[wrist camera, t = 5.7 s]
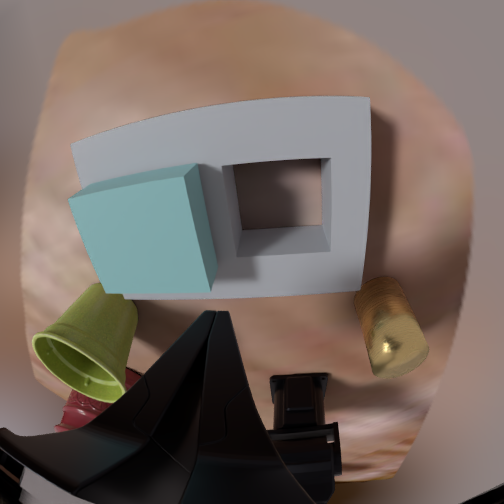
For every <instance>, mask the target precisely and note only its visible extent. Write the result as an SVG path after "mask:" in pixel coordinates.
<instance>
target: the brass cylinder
mask: <svg viewBox="0 0 504 504" xmlns="http://www.w3.org/2000/svg"><path fill="white" fill-rule="evenodd" d="M354 305H355V308H356V311H357V315H358V318H359V322H360V325H361V329H362V333H363V336H364V340H365V344H366V348H367V351H368V355H369V359H370V363H371V368H372V372H373V374H374V375H375V376H377V377H379V378H386V379H387V378H395V377H399V376H402V375H404V374H407V373H409V372H411V371H412V370H414V369H415V368H417V367H418V366H419V365H420V364H421V363H422V362H423V361H424V360H425V359H426V357H427V355H428V353H429V347H428V344H427V342H426V340H425V337H424V335H423V333H422V331H421V328H420V326H419V324H418V322H417V320H416V317H415V315H414V313H413V311H412V309H411V307H410V305H409V303H408V301H407V299H406V297H405V295H404V293H403V291H402V289H401V287H400V285H399V283H398V282H397V281H396V280H395V279H393V278H390V277H378V278H375V279H372V280H370V281H368V282H366V283H365V284H364V285H363V286H362V287H361V289H360V291H357V293H356V295H355V299H354Z"/></svg>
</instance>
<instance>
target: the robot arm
mask: <svg viewBox="0 0 504 504" xmlns="http://www.w3.org/2000/svg"><path fill="white" fill-rule="evenodd" d="M327 380H328V375H327V374H325V373H322V374H309V375H292V376H272V377H270V388H271V395H272V402H273V404H274V425H273V430H266V428H265V426H264V424H263V422H262V420H261V418H260V416H259V413H258V411H257V409H256V406H255V403H254V400H253V397H252V394H251V390H250V387H249V384H248V380H247V377H246V373H245V369H244V366H243V362H242V358H241V355H240V351H239V347H238V343H237V340H236V336H235V332H234V328H233V324H232V321H231V317H230V313H229V311H218V312H216V311H211V310H206V311H204V312H203V313H202V314H201V315H200V316H199V317H198V318H197V319H196V320H195V321H194V322H193V323H192V324H191V326H190V327H189V328H188V329H187V330H186V331H185V332H184V333H183V334H182V335H181V336H180V337H179V338H178V339H177V340H176V341H175V342H174V343H173V344H172V345H171V346H170V348H169V349H168V350H167V351H166V352H165V353H164V354H163V355H162V356H161V357H160V358H159V359H158V360H157V361H156V362H155V363H154V364H153V365H152V366H151V367H150V368H149V369H148V370H147V372H146V373H145V374H144V376H142V377H141V378H140V379H139V380H138V381H137V382H136V383H135V384H134V385H133V386H132V387H131V388H130V389H129V390H128V391H127V392H126V393H124V394H123V395H122V396H121V397H120V398H119V399H117V400H116V401H115V402H114V403H113V404H111V405H110V406H109V407H108V408H107V409H105V410H104V411H103V412H102V413H100V414H99V415H98V416H97V417H95V418H94V419H93V420H92V421H90V422H89V423H87V424H86V425H84V426H82V427H80V428H77V429H73V430H68V431H62V432H57V433H51V434H45V435H37V436H27V437H26V436H19V435H15V434H14V433H12V432H11V431H9V430H8V429H7V428H4V427H3V428H0V504H327V502H328V501H329V499H330V498H331V496H332V494H333V493H334V490H335V480H334V476H340V475H342V463H341V449H340V439H339V429H338V422H333V423H332V424H325V413H324V397H325V391H326V386H327ZM327 441H334V442H332V443H327ZM460 504H504V483H502V484H500V485H498V486H496V487H494V488H492V489H490V490H488V491H486V492H483V493H481V494H479V495H477V496H475V497H473V498H471V499H469V500H466V501H464V502H462V503H460Z"/></svg>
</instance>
